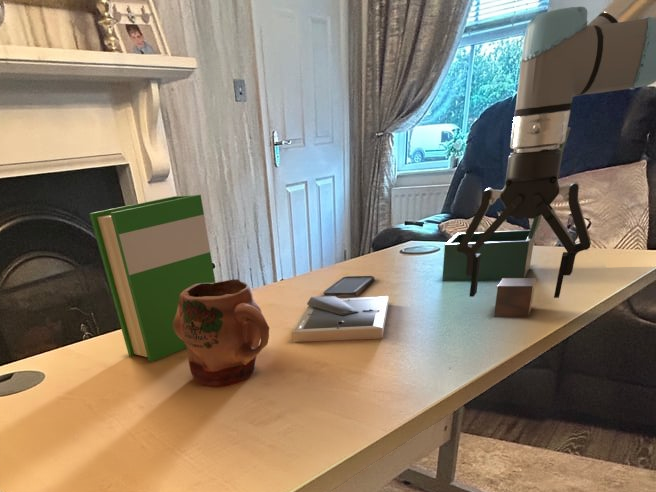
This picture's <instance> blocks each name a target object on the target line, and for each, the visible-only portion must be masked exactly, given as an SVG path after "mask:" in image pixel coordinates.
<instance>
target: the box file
mask: <svg viewBox="0 0 656 492" xmlns="http://www.w3.org/2000/svg"><path fill="white" fill-rule="evenodd" d="M530 230H531V229H521V230H518V229H517V230H501V231H499V230H498V231H497V230H496V231H495V232H494V233H493V234H492V235H491V236H490V237H489V239H488V240H487V241H486V242H485V243H484V244H483V245H482V246H481V247H480V248H479V250H478V251H477V252H476V254H481V258H480V267H479V276H478V282H501V280H502V278H526V276H527V274H528V272H529V270H530V269H531V264H532V263H531V261H532V255H533V249H534V243H535V237H536V233H535V234H534V236H533V238H532V239H528V236H529V233H530ZM484 232H485V231H477V232H476V231H475V233H474V235H473V237H472V238H471V240H470V242H469V244H468V245H471V246H473V245H474V243H475V242H476V241H477V240H478V239H479V238H480V237H481V236H482V235H483V233H484ZM465 233H466V232H456V233H455V234H454V235H453V236H452V237H451V238H450V239H449V240H448V241H447V242H446V243H444V249H443V264H442V280H441V281H442V282H471V278H472V276H467V275H466V265H467V255H466V254H464V253H459V252H458V251H457V247H458V245H459V244H460V242H461V240H462V238H463V236H464V234H465Z"/></svg>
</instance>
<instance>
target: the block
mask: <svg viewBox="0 0 656 492" xmlns="http://www.w3.org/2000/svg"><path fill="white" fill-rule="evenodd" d="M536 281H537V278H536V277H525V278H502V280H501V281H499V284H498V285H497V288H496V298H495V305H494V312H493V313H494V314H493V317H494V318H529V315H530V313H531V311H532V307H533V299H534V293H535V286H536V283H537V282H536Z"/></svg>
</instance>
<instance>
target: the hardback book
mask: <svg viewBox="0 0 656 492" xmlns="http://www.w3.org/2000/svg"><path fill="white" fill-rule="evenodd" d="M203 206H204V205H203V201H202V195H201V194H190V195H189V194H188V195H174V196H169V197H164V198H159V199H154V200H149V201H144V202H140V203H134V204H128V205H124V206H119V207H115V208H110V209H105V210H100V211H95V212H89V218H90V221H91V225H92V228H93V229H92V230H93V232H94V235H95V239H96V242H97V247H98V250H99V254H100V257H101V260H102V264H103V268H104V271H105V275H106V278H107V282H108V286H109V289H110V293H111V297H112V301H113V304H114V308H115V311H116V314H117V319H118V321H119V325H120V328H121V329H120V330H121V332H122V336H123V339H124V343H125V347H126V350H127V354H128V356H129V357H134V356H141V357H144V358H147V361H148V362H149V363H153V362H155V361H157V360H161V359H163V358H166V357H168V356H170V355H173V354H175V353H178V352H181V351H183V350H185V349H187V347H186V344H185V343H184V341H183V340H182V339H181V338H179V337H178V335H177V334H176V332H175V330H174V327H173V322H174V318H175V316H176V313H177V309H178V303H179V296H180V293H182V291H184V290H185V289H187V288H189V287H191V286H192V285H195V284H202V283H215V282H216V278H215V272H214V266H213V261H212V254H211V248H210V244H209V236H208V230H207V225H206V218H205V211H204V207H203Z"/></svg>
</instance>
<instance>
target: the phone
mask: <svg viewBox="0 0 656 492" xmlns="http://www.w3.org/2000/svg"><path fill="white" fill-rule="evenodd" d="M374 282H375V276H374V275H346V276H343V277H341V278H340V279H339V280H337V281H336V282H334V284H332V285H331V286H329V287H328V288H326V289H325V290H323V297H326V296H335V297H337V298H356V297H358V296H359V295H360V294H361V293H362V292H363V291H364V290H366V289H367V288H368V287H369V286H371V284H373V283H374Z"/></svg>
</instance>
